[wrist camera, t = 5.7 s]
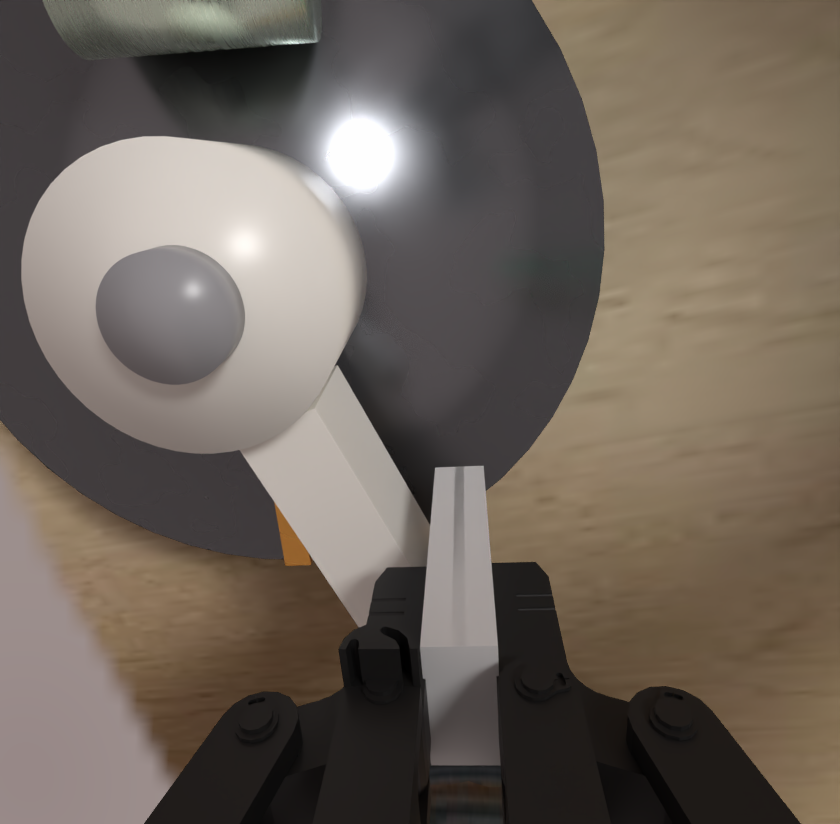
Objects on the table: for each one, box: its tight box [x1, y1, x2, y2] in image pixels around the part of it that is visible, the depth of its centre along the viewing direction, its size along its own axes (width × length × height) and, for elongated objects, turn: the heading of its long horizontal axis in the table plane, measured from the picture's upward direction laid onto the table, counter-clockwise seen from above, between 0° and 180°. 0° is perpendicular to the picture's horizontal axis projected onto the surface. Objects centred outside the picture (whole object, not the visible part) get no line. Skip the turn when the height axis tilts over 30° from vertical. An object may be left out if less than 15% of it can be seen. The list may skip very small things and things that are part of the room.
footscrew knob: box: [21, 136, 430, 627], centre depth 15 cm, size 15×6×5 cm, turn 27°
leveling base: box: [0, 0, 604, 566], centre depth 16 cm, size 18×18×5 cm
